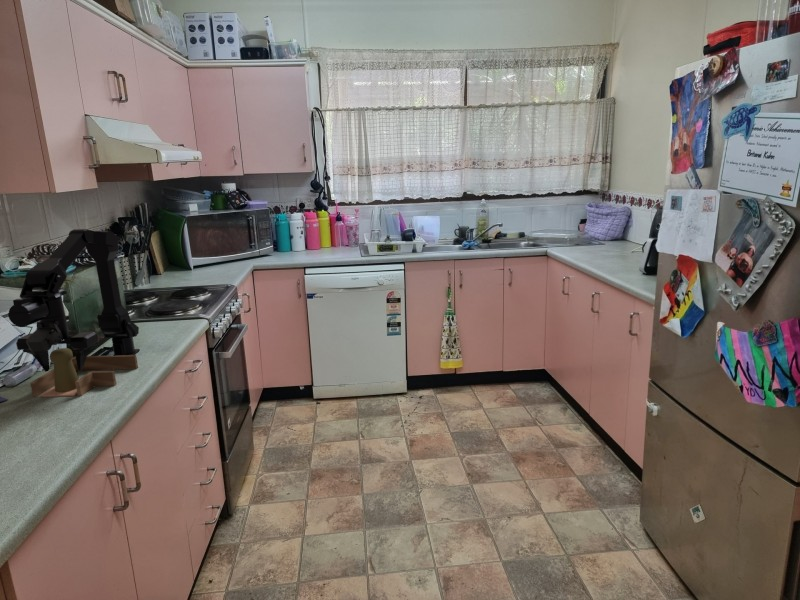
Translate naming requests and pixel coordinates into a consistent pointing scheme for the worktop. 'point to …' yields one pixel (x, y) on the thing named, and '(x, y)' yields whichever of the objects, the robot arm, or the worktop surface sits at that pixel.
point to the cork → (64, 370)
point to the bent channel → (92, 377)
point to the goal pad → (58, 393)
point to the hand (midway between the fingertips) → (64, 370)
